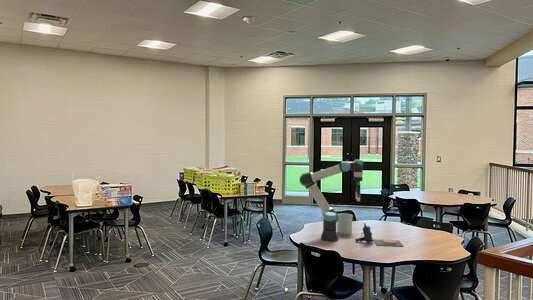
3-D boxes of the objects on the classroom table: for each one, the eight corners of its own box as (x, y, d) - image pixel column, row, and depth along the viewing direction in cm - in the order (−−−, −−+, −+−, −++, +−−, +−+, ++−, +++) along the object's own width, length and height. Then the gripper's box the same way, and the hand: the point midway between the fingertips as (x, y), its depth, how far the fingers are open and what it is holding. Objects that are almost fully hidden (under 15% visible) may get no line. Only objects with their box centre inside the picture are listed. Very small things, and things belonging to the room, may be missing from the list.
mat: (376, 245, 329) (376, 244, 329) (373, 240, 347) (373, 239, 347) (403, 246, 326) (403, 245, 326) (399, 241, 344) (399, 240, 344)
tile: (384, 241, 332) (396, 242, 330) (382, 239, 342) (394, 239, 340) (384, 243, 332) (396, 244, 330) (382, 240, 342) (394, 241, 340)
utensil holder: (350, 231, 381) (350, 213, 381) (354, 234, 366) (354, 216, 366) (335, 231, 381) (335, 213, 381) (338, 234, 366) (339, 216, 366)
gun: (351, 225, 342) (368, 221, 339) (356, 244, 341) (373, 240, 339) (352, 226, 339) (369, 222, 337) (356, 245, 339) (374, 241, 336)
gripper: (363, 178, 340) (363, 202, 341) (361, 175, 365) (360, 198, 365) (355, 177, 341) (354, 201, 342) (353, 175, 366) (352, 197, 366)
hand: (357, 200), depth 354 cm, fingers open, 13 cm apart
